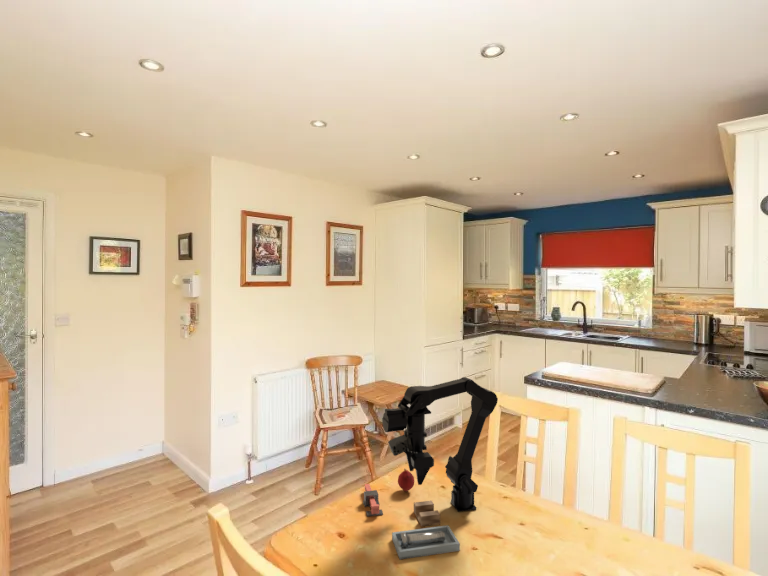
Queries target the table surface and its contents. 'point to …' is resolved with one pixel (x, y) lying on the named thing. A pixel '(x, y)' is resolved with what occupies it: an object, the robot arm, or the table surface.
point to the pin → (421, 538)
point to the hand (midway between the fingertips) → (415, 477)
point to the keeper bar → (372, 501)
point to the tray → (426, 548)
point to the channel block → (426, 513)
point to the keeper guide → (367, 504)
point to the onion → (406, 480)
